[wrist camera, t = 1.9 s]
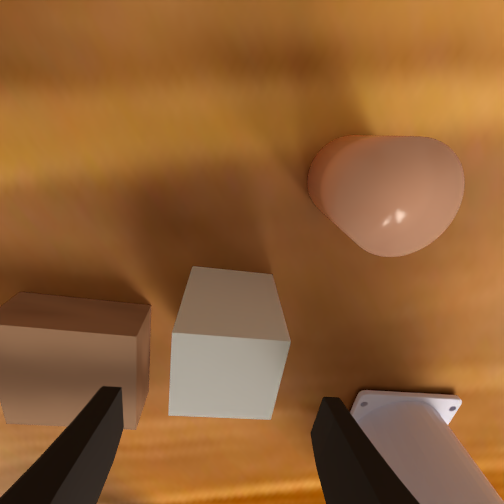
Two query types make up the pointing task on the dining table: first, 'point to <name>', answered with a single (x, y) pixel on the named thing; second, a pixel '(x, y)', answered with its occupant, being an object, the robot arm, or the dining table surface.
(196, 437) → the dining table surface
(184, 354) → the grey block
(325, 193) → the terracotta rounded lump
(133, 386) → the walnut slab
